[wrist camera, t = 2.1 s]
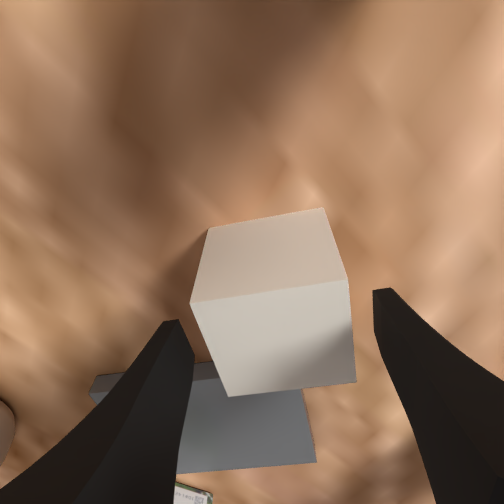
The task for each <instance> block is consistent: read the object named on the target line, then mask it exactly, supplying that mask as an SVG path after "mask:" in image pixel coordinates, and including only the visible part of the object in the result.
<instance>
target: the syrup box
mask: <svg viewBox="0 0 504 504" xmlns="http://www.w3.org/2000/svg"><path fill="white" fill-rule="evenodd" d="M212 502H213V494H211V493H208V492H205V491H202V490H198V489H195V488H192V487H189V486H186V485H183V484H180V483H177V482H175V492H174V504H212Z"/></svg>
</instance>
